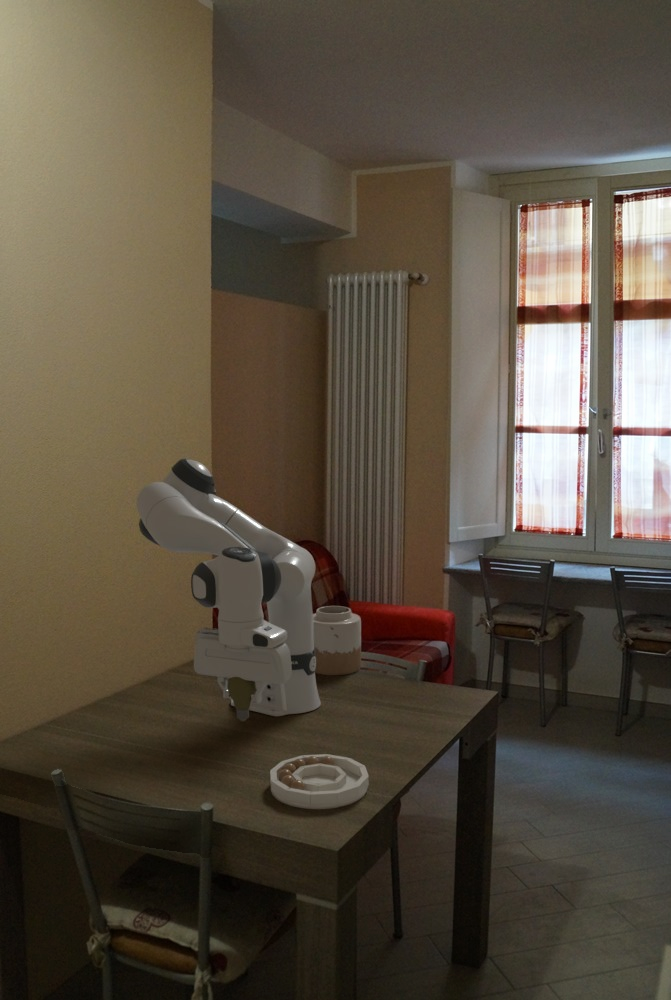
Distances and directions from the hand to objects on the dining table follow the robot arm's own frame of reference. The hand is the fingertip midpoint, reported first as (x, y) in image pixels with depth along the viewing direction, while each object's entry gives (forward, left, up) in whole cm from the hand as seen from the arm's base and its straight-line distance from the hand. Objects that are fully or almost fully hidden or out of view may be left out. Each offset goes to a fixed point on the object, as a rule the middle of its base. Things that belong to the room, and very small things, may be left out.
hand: (242, 700), depth 184 cm
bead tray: (+14, +5, -18) cm, 23 cm away
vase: (-15, +80, -18) cm, 83 cm away
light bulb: (0, 0, -4) cm, 4 cm away
